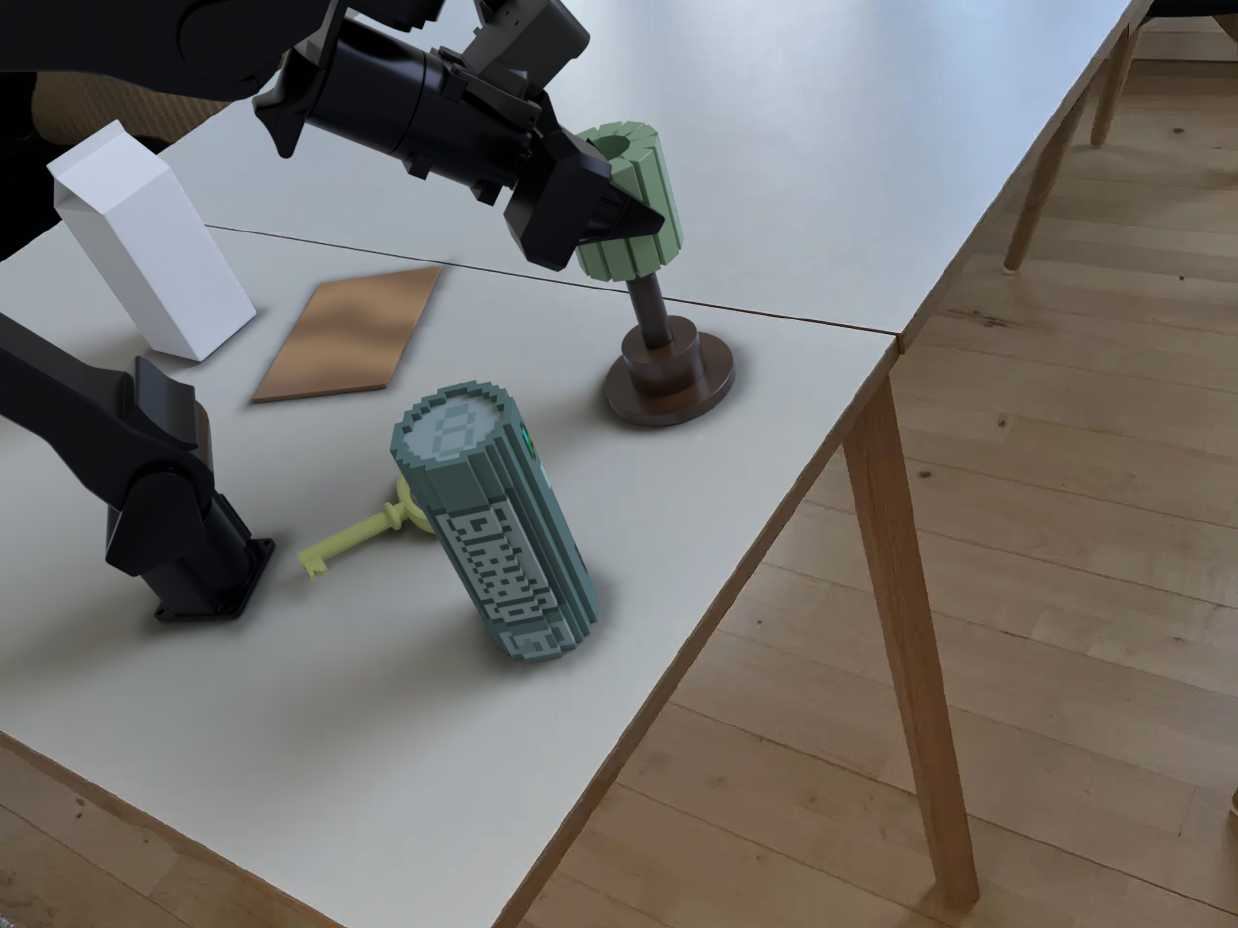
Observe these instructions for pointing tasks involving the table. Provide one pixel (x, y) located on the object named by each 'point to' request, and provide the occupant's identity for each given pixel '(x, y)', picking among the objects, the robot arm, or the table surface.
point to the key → (364, 530)
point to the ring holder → (666, 364)
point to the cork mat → (349, 336)
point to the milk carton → (148, 243)
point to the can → (497, 518)
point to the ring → (647, 179)
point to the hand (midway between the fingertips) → (641, 203)
